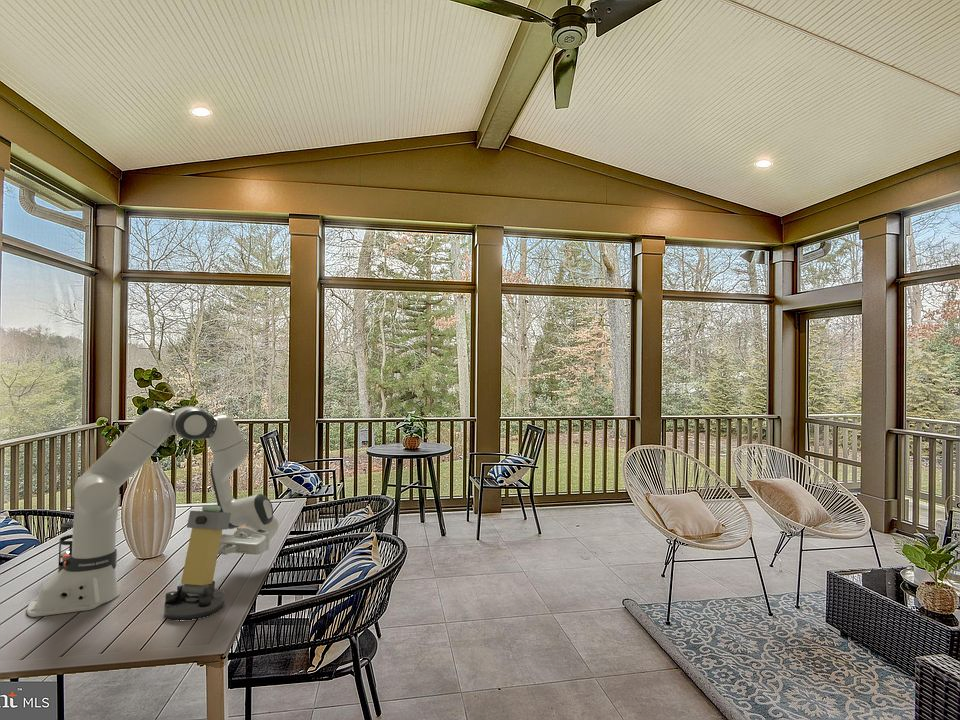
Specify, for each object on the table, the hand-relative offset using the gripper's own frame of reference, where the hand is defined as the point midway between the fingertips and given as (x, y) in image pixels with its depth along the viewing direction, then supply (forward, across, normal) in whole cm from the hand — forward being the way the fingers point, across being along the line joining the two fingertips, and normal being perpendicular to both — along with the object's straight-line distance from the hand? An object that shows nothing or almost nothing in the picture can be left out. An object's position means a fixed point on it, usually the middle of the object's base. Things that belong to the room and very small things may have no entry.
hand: (221, 552), depth 171 cm
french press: (-6, -60, +13) cm, 62 cm away
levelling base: (+12, 0, +13) cm, 18 cm away
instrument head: (+13, 0, +8) cm, 16 cm away
